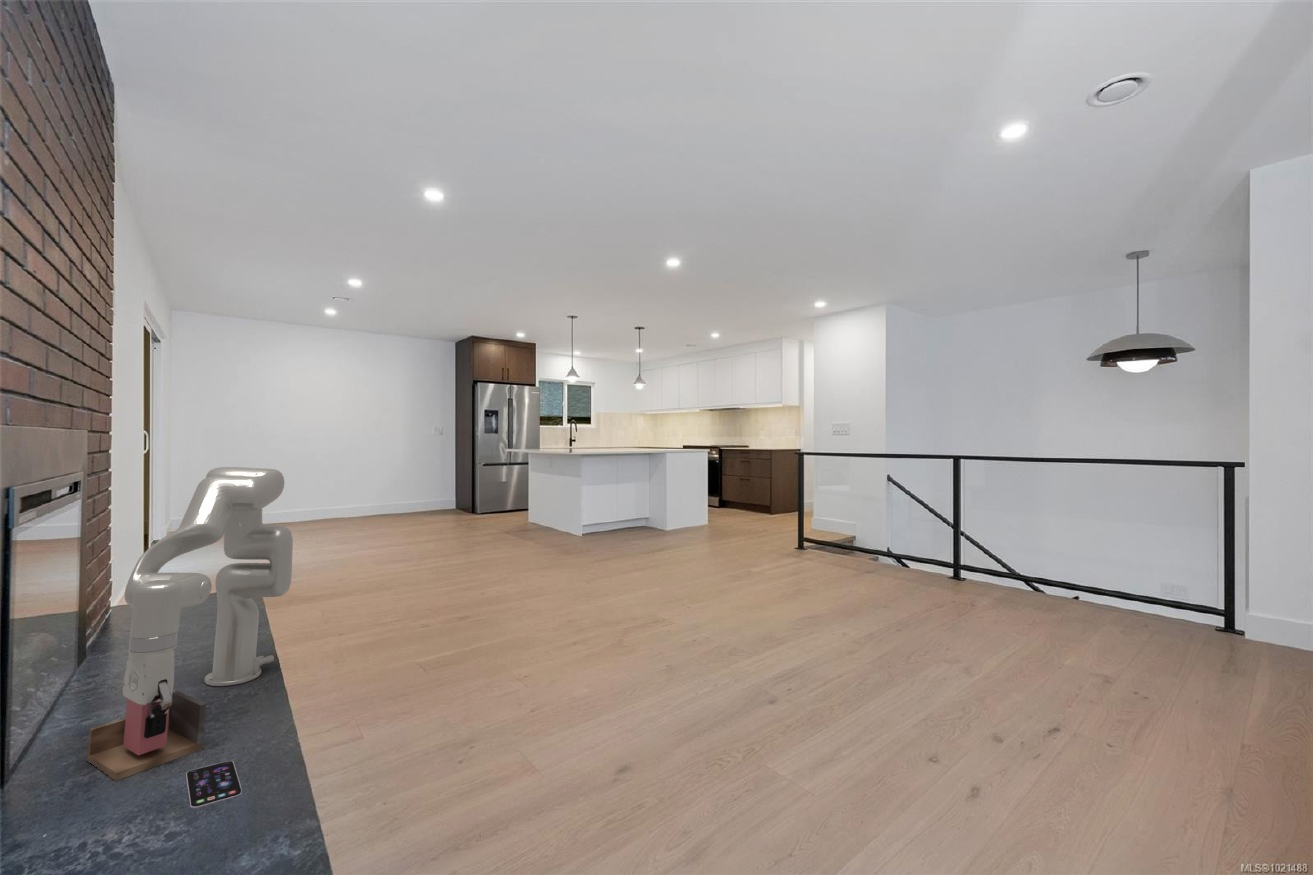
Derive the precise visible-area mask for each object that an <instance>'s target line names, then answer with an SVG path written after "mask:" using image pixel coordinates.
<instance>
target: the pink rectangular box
mask: <svg viewBox="0 0 1313 875" xmlns="http://www.w3.org/2000/svg"><path fill="white" fill-rule="evenodd" d="M157 699H160V697H159V696H158V697H155V698H154V699H153V700H152V701H154V700H157ZM158 705H160V702H159V703H155V704H153V706H154V709H155V708H156V706H158ZM169 706H170V705H169ZM147 717H149V716H148V703H147V705H144V706H142V705H139V704H137V703H135V702H133V701H131V700H130V699H128V698H126V708H125V718H126V720H125V732H124V744H123V747H125V748H127V749H128V750H130V751H132V752H133V753H135V754H137V755H141V754H144V753H147V752H149V751H152V750H155V749H158V748H161V747H164V746H166V742H167V730H168V718H169V708H168V713H167V717H166V729H165V732H164V733H162V734H159V735H156V736H153V737H150V738H145V737H144V734H145V723H146V718H147Z"/></svg>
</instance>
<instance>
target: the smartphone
mask: <svg viewBox="0 0 1313 875" xmlns="http://www.w3.org/2000/svg"><path fill="white" fill-rule="evenodd" d="M185 778H186V784H187V785H186V787H187V794H188V799H189V805H190V809H199V808H202V807H206V806H209V805H212V804H216V803H218V802H223V801H225V800H229V799H232V798H235V797H239V796H241V795H242V793H243V790H242V789H243V788H242V786H241V782H240V778H239V775H238V772H237V769H236V765H235V762H234V761H233V760H227V761H221V762H219V763H218V762H217V763H214V764H210V765H206V766H202V767H198V768H194V769H191V770H188V771H187V772H185Z"/></svg>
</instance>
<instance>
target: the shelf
mask: <svg viewBox="0 0 1313 875" xmlns="http://www.w3.org/2000/svg"><path fill="white" fill-rule="evenodd" d="M171 698H172V704H171V705H170V706H169V718H168V730H167V742H166V746H164V747H161V748H158V749H155V750H152V751H149V752H147V753H144V754H141V755H137V754H135V753H133V752H132V751H130V750H128V749H127V748H125V747H123V744H124V732H125V720H126V717H125V718H120V719H117V720H114V721H111V722H108V723H104V724H100V725H97V726H93V727H90V728H89V733H88V734H89V736H88V743H87V744H88V746H87V755H86V762H87V761H88V762H89V763H88V762H87V763H88V764H90V763H91V764H93V765H95V767H97V768H98V769H100V770H101V771H103V772H104V773H103V772H102V773H103V774H104V775H106V774H107V775H108V776H107V775H106V776H107V777H109V778H110V779H112V780H113V781H115V782H118V781H120V780H123V779H126V778H128V777H131V776H134V775H136V774H140V773H142V772H145V771H147V770H150V769H153V768H155V767H158V766H160V765H164V764H166V763H169V762H172V761H175V760H176V759H180V758H182V757H185V756H188V755H190V754H194V753H196V752H199V751H201V750H203V743H204V731H205V720H206V709H207V703H205V702H203V701H200V700H199V699H196V698H194V697H192V696H190V695H188V694H186V693H184V692H181V691H179V690H175V691H173V692H172V695H171ZM91 764H90V765H91ZM95 767H94V768H95ZM97 768H96V769H97ZM98 769H97V770H98ZM100 770H99V771H100ZM101 771H100V772H101Z"/></svg>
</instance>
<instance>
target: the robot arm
mask: <svg viewBox="0 0 1313 875" xmlns="http://www.w3.org/2000/svg"><path fill="white" fill-rule="evenodd" d="M284 488H285V477H284V475H283V473H282V472H281V471H280V470H279V469H274V468H259V467H238V466H222V467H215V468H212V469H210V470H209V471H208V472H207V474H206V475H205V478H203V479H202V480H201V481H200V482H199V483H198V484H197V486H196V489H195V491H194V493H193V495H192V497H191V499H190V501H189V504H188V506H187V509H186V511H185V513H184V515H183V518H182V520H181V523H180V524H179V526H178V528H176V529H175V530H174V531H172V532H171V533H169V534H167V535H166V536H164V537H162V538H161V539H159V540H158V541H157V542H155V543H154V544H153V545H151V546H150V547H149V548H148V549H147V550H145V551H144V552H143V553H142V555H141V556H140V557H139V558H138V560H137V562H136V564H135V565H134V567H133V570H132V571H131V574H130V576H129V578H128V581H127V583H126V586H125V590H124V601H125V603H126V605H128V606H129V607H131V618H130V619H131V621H130V632H129V641H128V652H127V653H128V657H127V660H126V667H125V672H124V677H123V686H122V695H123V697H124V698H126V699H127V698H128V699H130V700H131V701H133V702H135V703H137V704H139V705H142V706H144V705H147V703H148V716H149V717H147V718H146V723H145V734H144V737H145V738H150V737H153V736H156V735H159V734H162V733H164V732H165V729H166V717H167V713H168V708H169V705H170V704H171V702H172V693H173V692H174V683H175V650H174V649H176V648H177V647H178V642H179V641H178V640H179V630H180V617H181V616H180V615H181V611H183V610H187V609H191V608H196V607H197V606H199V605H201V604H203V603H204V602H205V601H206V600H207V599H208V598H209V596H210V594H211V592H212V587H213V585H212V580H211V579H210V577H208V575H206V574H205V573H204V574H203V573H200V572H159V571H160V570H161V568H163V567H164V565H166V564H167V563H168V562H170V561H172V560H174V559H175V558H177V557H180V556H181V555H182V556H183V555H184V554H187V553H190V552H193V551H195V550H199V549H201V548H204V547H208V546H210V545H213V544H215V543H218V542H219V541H220V540H221V539H222V537H223V551H224V555H225V556H226V557H227V558H229V559H231V560H244V561H245V560H248V561H249V560H254V561H255V560H259V561H261V560H267V561H268V562H237V563H236V562H235V563H229V564H227V565H225V566H223V567H222V568H220V570H218V572H217V573H216V577H215V582H214V583H215V592H216V599H217V601H216V602H217V607H216V608H217V612H216V625H215V626H216V627H215V637H214V648H213V649H214V650H213V660H212V661H213V662H212V669H211V670H212V671H211V672H210V673H207V675H205V676H204V683H205V684H206V685H208V686H212V687H226V686H234V685H240V684H244V683H247V682H251V681H253V680H255V679H256V678H258V677H259V676H260V675H261V674H262V668H261V667H262V666H263V665H265V664H270V663H272V662H274V661H275V657H274V655H273V654H271V655H267V656H264V655H259V656H256V655H257V647H258V646H257V645H258V635H259V634H258V632H259V623H260V622H259V620H260V611H259V608H258V605H257V603H256V602H255V600H254V599H256V598H258V599H259V598H278V597H281V596H284V595H286V594H287V592H289V589H290V588H291V583H292V571H293V569H292V568H293V566H292V565H293V547H294V544H293V542H294V541H293V535H292V534H293V533H292V532H291V530H290V529H289V528H288V527H286V526H284V525H283V526H282V525H271V524H270V525H267V524H263V508H266V507H267V506H269V505H270V504H271V503H273V502H274V501H275V500H277V499H278V498H279V497H280V496H281V495H282V494H283V491H284ZM158 696H159V697H160V699H157V700H154V701H152V700H153V699H154V698H155V697H158ZM159 702H160V705H158V706H156V708H155V709H154V706H153V704H155V703H159Z"/></svg>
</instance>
